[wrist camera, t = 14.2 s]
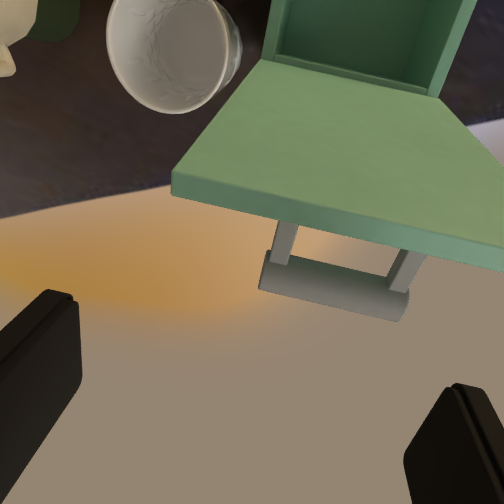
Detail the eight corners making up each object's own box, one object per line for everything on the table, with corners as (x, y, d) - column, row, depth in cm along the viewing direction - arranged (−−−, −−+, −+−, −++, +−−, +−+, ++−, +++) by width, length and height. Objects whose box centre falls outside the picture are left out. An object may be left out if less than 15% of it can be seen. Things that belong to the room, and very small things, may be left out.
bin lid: (170, 170, 10) (164, 310, 13) (603, 270, 10) (490, 388, 13) (260, 58, 24) (246, 140, 27) (440, 98, 24) (404, 176, 27)
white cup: (268, 55, 32) (254, 57, 23) (202, 116, 35) (167, 138, 26) (206, -32, 30) (164, -66, 21) (141, 41, 33) (81, 38, 24)
